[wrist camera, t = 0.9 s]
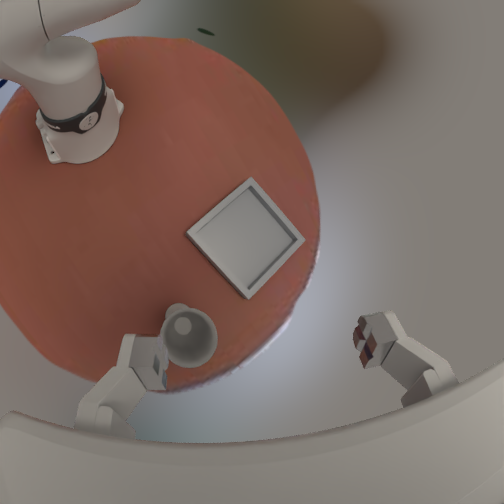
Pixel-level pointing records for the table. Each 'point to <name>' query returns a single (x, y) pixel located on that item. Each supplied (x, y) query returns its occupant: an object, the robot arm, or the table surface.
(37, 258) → the table surface
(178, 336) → the chalice
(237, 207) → the tray
